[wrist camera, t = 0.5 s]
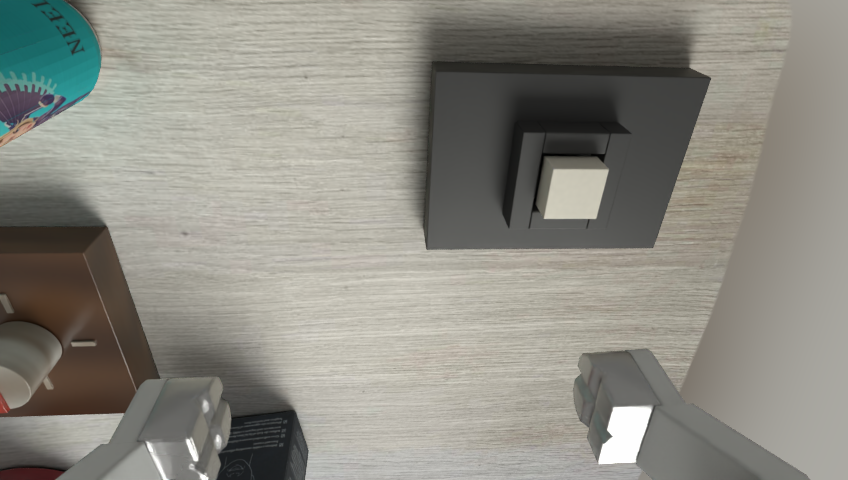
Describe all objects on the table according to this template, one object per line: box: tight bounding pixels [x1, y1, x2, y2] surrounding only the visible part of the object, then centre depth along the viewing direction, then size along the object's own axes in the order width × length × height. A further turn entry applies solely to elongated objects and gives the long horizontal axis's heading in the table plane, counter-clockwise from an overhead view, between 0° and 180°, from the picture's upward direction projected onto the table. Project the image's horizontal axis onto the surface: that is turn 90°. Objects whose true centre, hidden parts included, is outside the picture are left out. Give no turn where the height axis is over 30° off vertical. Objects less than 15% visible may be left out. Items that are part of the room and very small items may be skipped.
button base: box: [424, 62, 711, 250], centre depth 29 cm, size 11×15×4 cm
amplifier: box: [0, 227, 160, 417], centre depth 33 cm, size 14×11×3 cm
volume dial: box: [0, 321, 62, 413], centre depth 30 cm, size 4×4×4 cm
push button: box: [536, 156, 609, 219], centre depth 27 cm, size 3×3×2 cm
